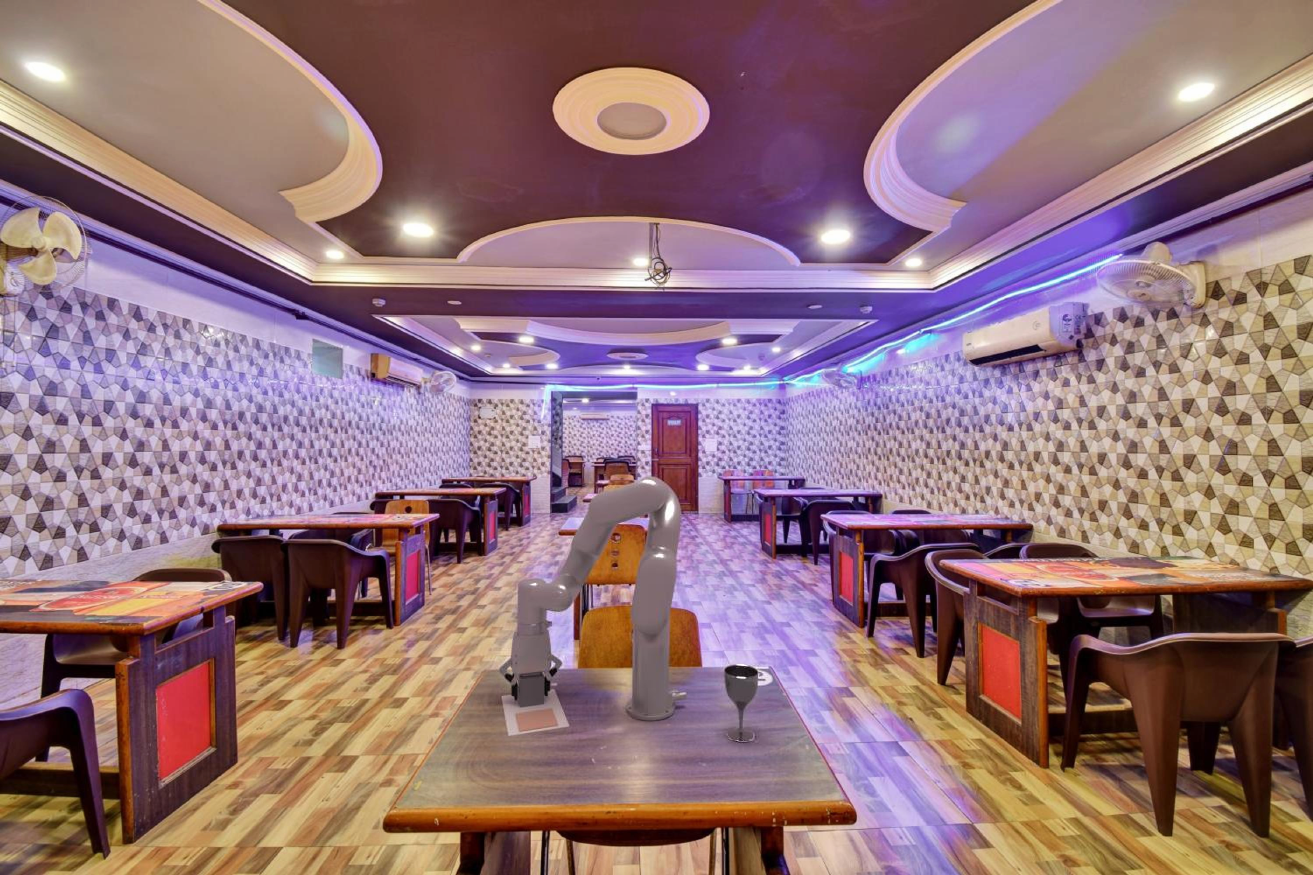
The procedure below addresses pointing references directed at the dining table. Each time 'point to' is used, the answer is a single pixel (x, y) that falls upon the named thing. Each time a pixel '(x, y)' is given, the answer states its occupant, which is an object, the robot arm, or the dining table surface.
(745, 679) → the wine glass
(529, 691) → the dark grey block
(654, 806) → the dining table surface
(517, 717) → the board
